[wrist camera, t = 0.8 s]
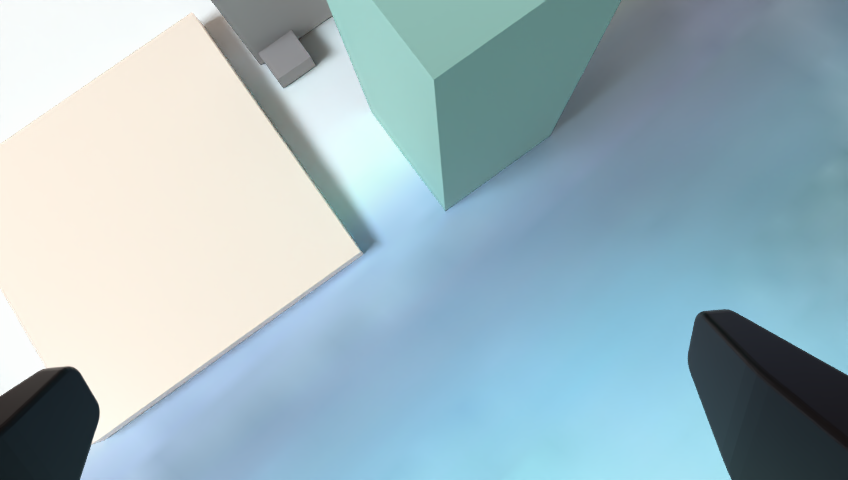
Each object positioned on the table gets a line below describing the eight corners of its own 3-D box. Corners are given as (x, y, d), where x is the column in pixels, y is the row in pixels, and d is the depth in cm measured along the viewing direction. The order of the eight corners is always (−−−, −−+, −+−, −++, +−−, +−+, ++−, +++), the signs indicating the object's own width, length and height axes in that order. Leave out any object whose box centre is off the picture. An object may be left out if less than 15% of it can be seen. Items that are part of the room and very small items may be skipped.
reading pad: (364, 254, 21) (360, 251, 20) (104, 439, 21) (90, 445, 20) (201, 22, 23) (192, 12, 22) (-42, 189, 23) (-60, 184, 22)
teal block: (549, 137, 22) (665, -84, 10) (445, 212, 21) (433, 79, 9) (469, 36, 22) (485, -283, 10) (368, 107, 22) (268, -135, 10)
